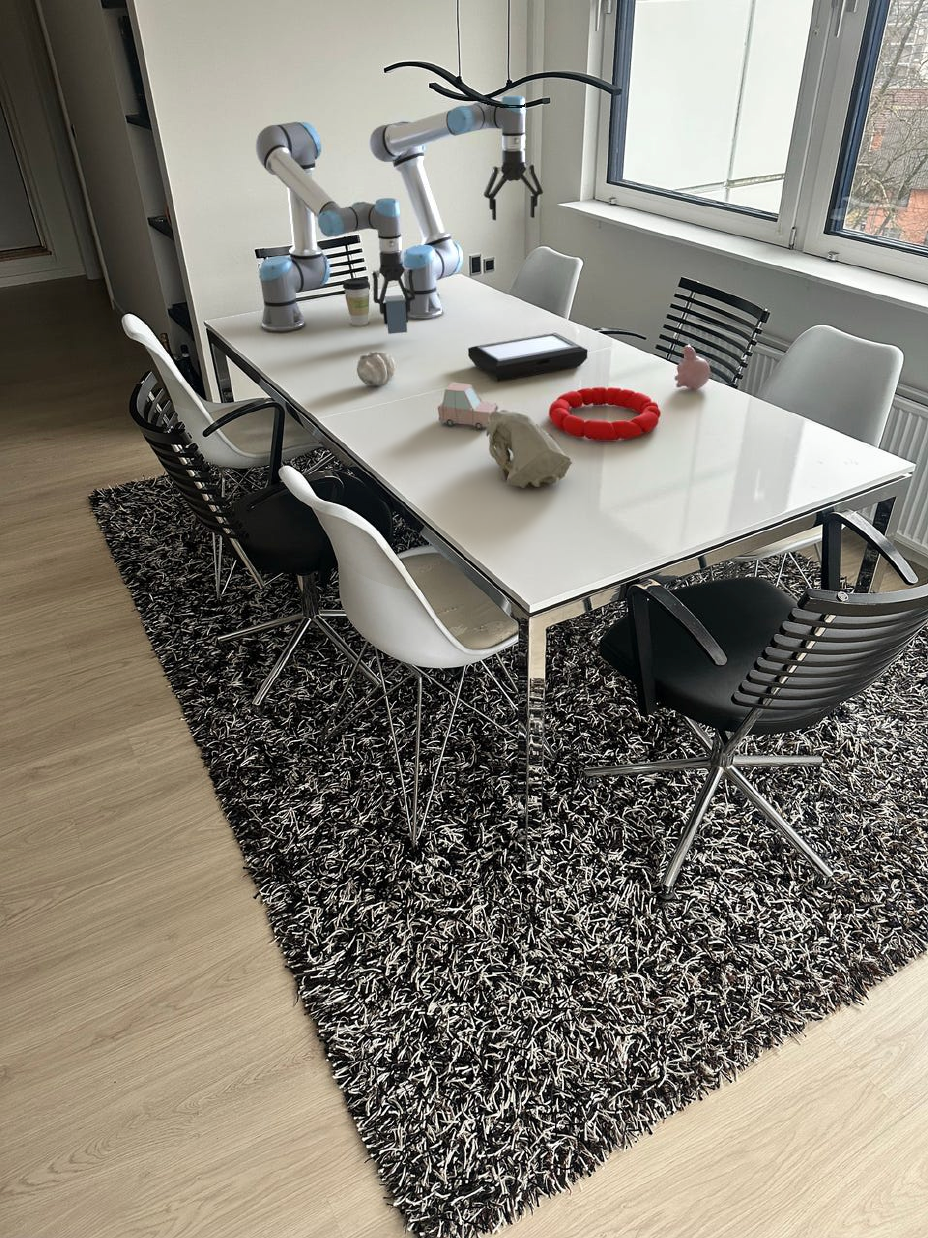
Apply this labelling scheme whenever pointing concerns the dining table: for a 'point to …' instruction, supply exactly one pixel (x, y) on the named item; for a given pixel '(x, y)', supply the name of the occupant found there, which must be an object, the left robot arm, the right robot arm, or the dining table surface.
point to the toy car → (465, 406)
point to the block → (395, 314)
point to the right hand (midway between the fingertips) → (513, 218)
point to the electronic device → (527, 356)
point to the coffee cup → (357, 300)
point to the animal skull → (525, 450)
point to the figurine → (692, 370)
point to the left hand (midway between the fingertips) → (395, 322)
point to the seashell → (375, 368)
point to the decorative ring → (604, 428)
